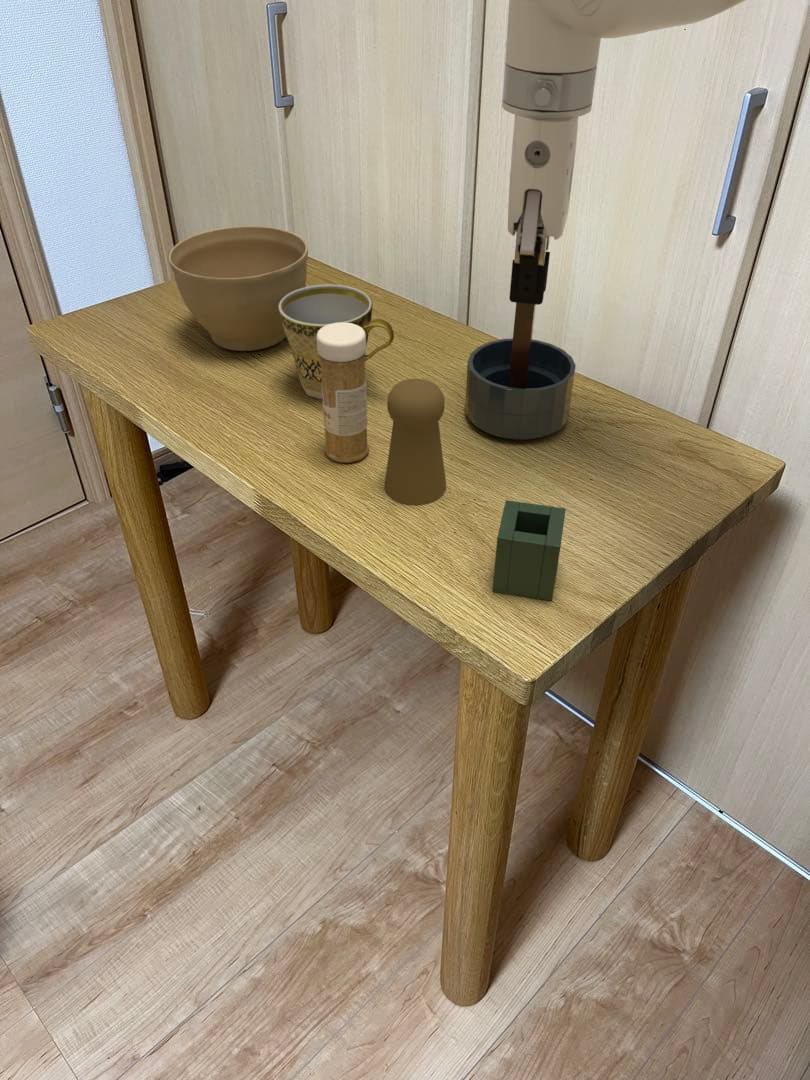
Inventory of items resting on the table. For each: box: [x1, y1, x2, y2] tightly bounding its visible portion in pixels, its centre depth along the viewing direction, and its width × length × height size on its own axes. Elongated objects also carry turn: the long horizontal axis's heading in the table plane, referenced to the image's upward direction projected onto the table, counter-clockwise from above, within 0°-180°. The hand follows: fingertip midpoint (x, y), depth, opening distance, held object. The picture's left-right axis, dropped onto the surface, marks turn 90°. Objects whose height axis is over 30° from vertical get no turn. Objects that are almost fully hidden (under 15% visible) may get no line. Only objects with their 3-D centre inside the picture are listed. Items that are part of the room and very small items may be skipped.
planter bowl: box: [168, 225, 309, 352], centre depth 103 cm, size 16×16×11 cm
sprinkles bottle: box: [317, 322, 370, 464], centre depth 82 cm, size 5×5×14 cm
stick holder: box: [491, 499, 566, 602], centre depth 71 cm, size 5×5×6 cm
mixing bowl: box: [464, 337, 577, 441], centre depth 90 cm, size 11×11×6 cm
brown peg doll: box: [383, 378, 447, 506], centre depth 79 cm, size 6×6×11 cm
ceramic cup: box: [279, 283, 395, 400], centre depth 93 cm, size 13×10×10 cm
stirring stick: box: [508, 240, 541, 389], centre depth 85 cm, size 2×2×18 cm
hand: (527, 295), depth 83 cm, fingers closed on stirring stick, 1 cm apart
